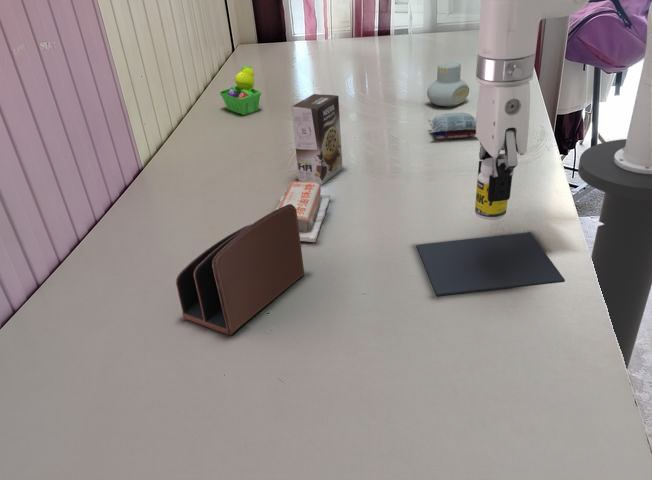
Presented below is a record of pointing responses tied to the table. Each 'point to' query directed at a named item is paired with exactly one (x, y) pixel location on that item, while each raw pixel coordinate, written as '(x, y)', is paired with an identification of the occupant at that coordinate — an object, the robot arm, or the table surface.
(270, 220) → the letter holder
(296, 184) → the packaged product
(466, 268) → the mat
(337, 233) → the table surface
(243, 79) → the fruit basket
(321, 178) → the coffee box
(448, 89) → the air freshener
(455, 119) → the packaged food
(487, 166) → the supplement bottle
